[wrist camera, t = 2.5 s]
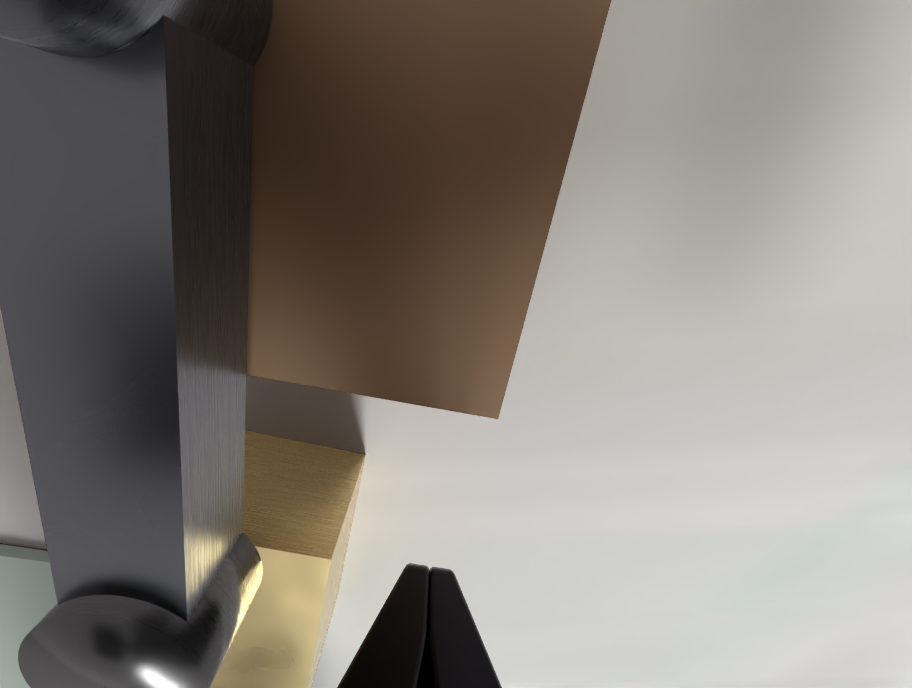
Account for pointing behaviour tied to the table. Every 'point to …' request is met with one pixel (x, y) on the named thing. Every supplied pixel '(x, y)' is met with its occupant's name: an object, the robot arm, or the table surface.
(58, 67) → the lever
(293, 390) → the table surface
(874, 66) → the table surface
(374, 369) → the plane block
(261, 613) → the brass block
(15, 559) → the glass plate
